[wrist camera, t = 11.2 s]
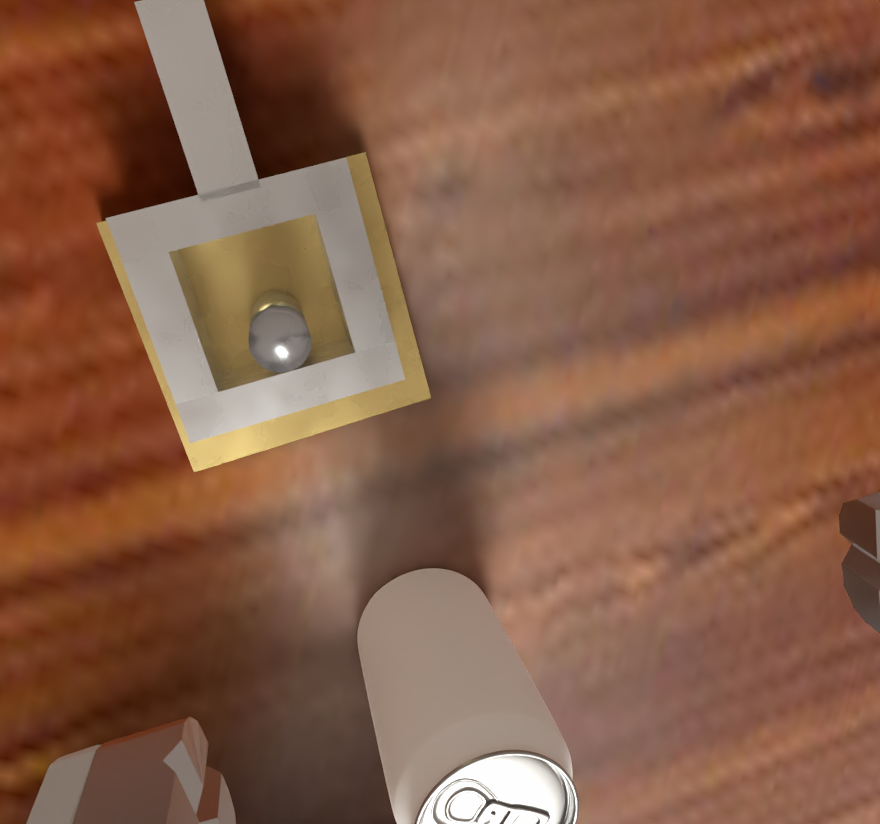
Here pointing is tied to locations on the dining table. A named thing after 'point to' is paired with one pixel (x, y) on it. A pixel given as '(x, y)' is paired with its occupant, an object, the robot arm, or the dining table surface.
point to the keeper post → (283, 320)
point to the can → (458, 709)
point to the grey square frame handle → (232, 212)
